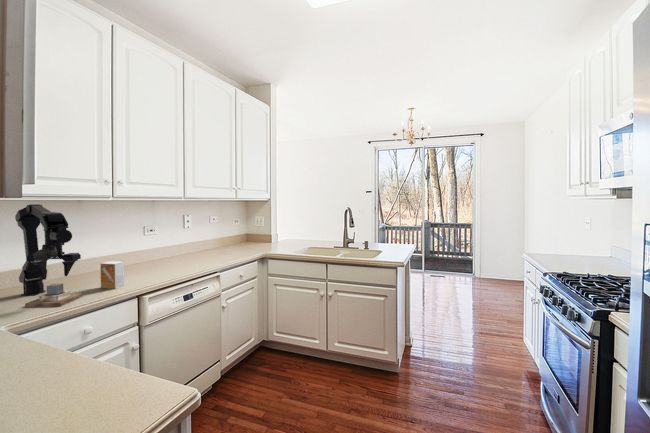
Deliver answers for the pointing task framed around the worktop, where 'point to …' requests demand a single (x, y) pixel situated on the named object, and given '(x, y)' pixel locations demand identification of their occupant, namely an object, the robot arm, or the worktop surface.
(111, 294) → the worktop surface
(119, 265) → the small box
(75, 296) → the holder board
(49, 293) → the steel pin
